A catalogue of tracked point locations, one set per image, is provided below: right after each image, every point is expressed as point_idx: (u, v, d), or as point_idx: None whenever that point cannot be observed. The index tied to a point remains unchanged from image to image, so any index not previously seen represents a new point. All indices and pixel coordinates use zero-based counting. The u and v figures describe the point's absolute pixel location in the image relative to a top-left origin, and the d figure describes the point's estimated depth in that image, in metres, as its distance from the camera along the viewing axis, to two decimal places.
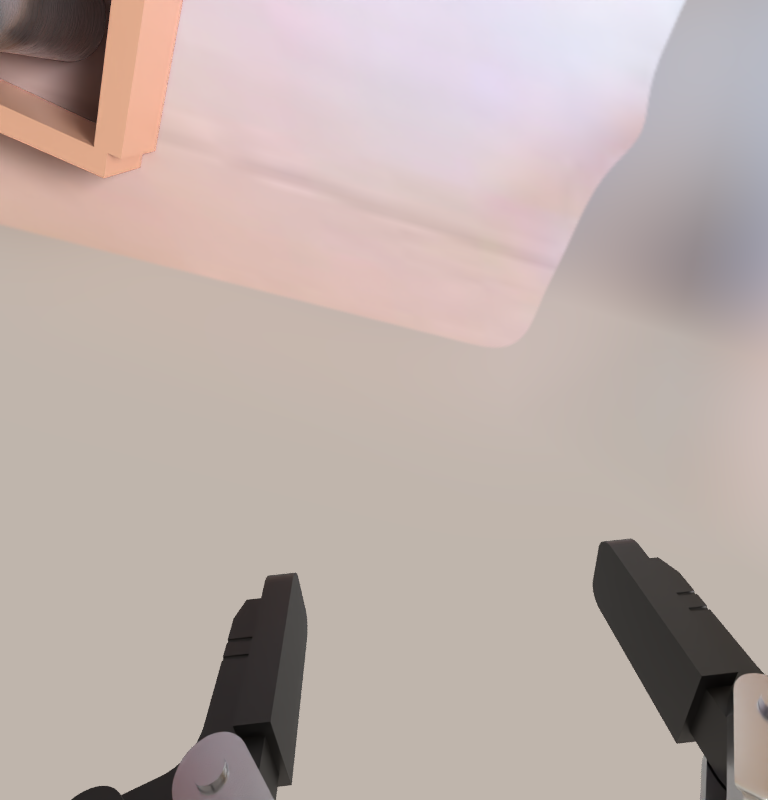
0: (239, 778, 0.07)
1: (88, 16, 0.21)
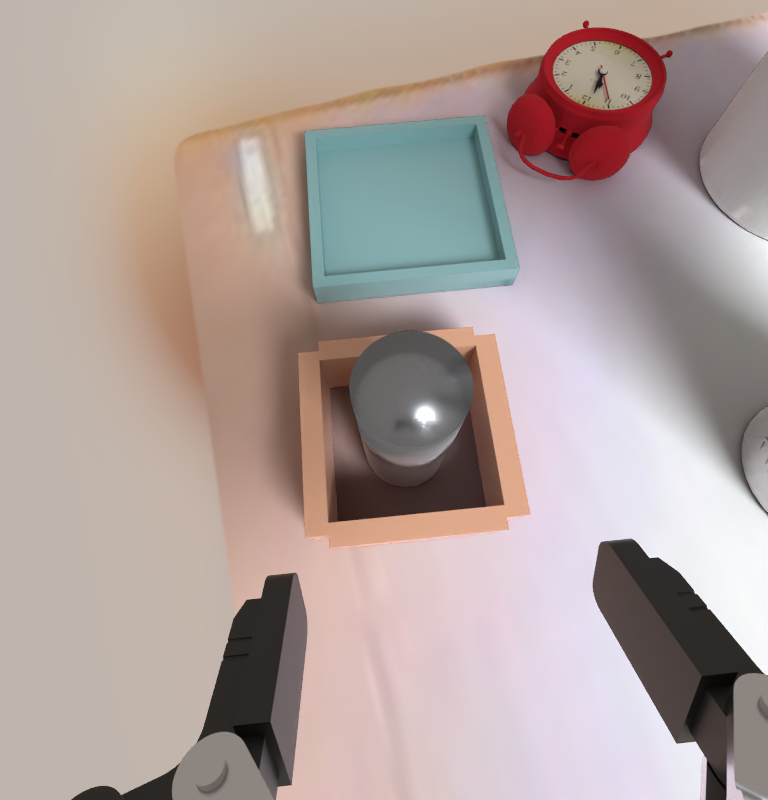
0: (239, 778, 0.07)
1: (412, 482, 0.26)
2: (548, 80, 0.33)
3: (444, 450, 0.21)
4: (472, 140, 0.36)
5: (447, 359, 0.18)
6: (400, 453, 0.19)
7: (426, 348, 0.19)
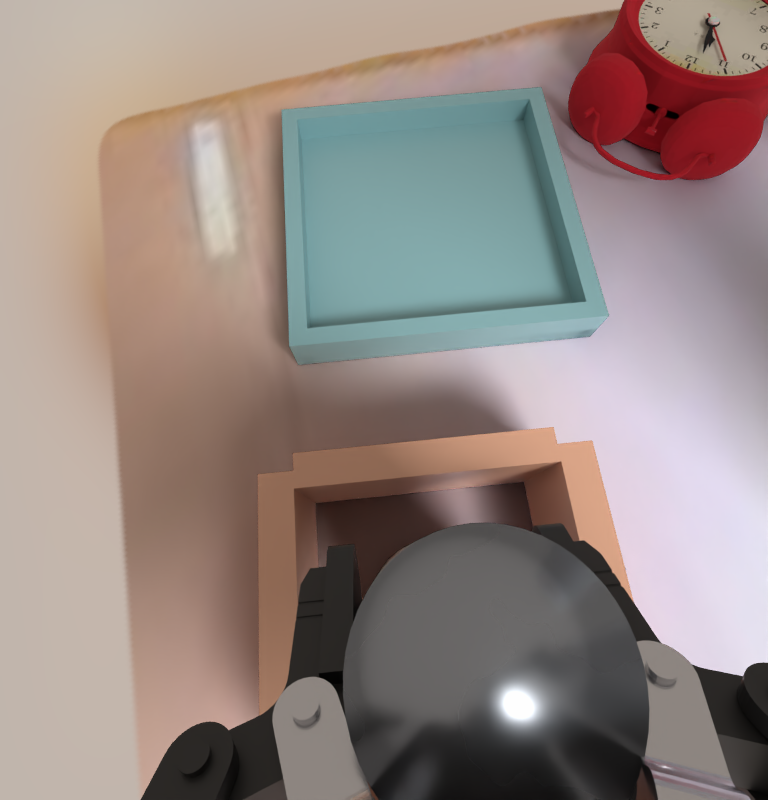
0: (334, 715, 0.08)
1: None
2: (635, 34, 0.23)
3: None
4: (521, 123, 0.25)
5: (576, 603, 0.08)
6: None
7: (524, 571, 0.08)
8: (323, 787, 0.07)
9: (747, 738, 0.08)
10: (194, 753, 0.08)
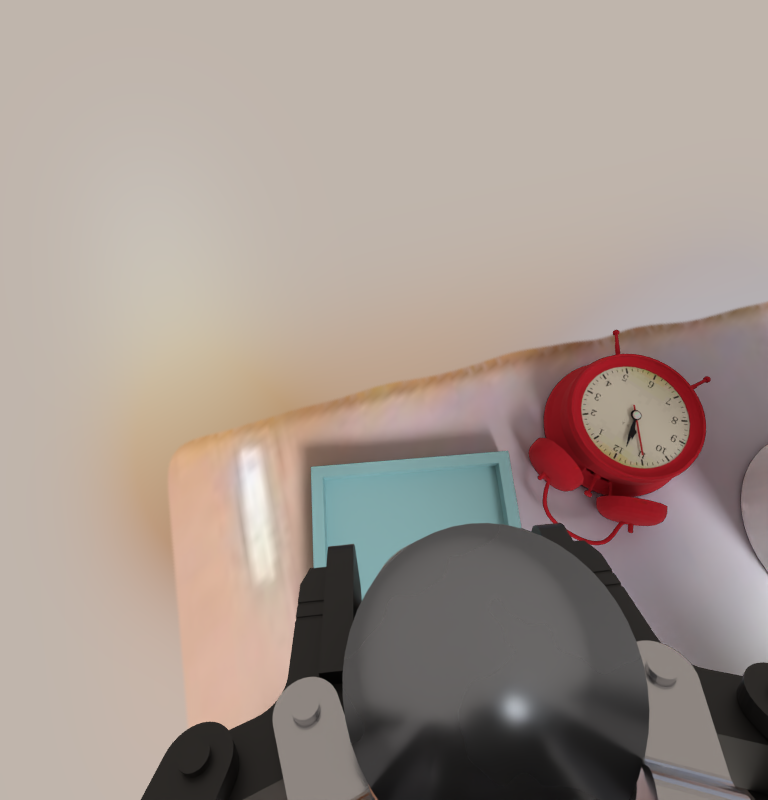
0: (334, 715, 0.08)
1: None
2: (576, 428, 0.30)
3: None
4: (493, 470, 0.33)
5: (575, 603, 0.08)
6: None
7: (523, 571, 0.08)
8: (323, 787, 0.07)
9: (747, 738, 0.08)
10: (194, 753, 0.08)
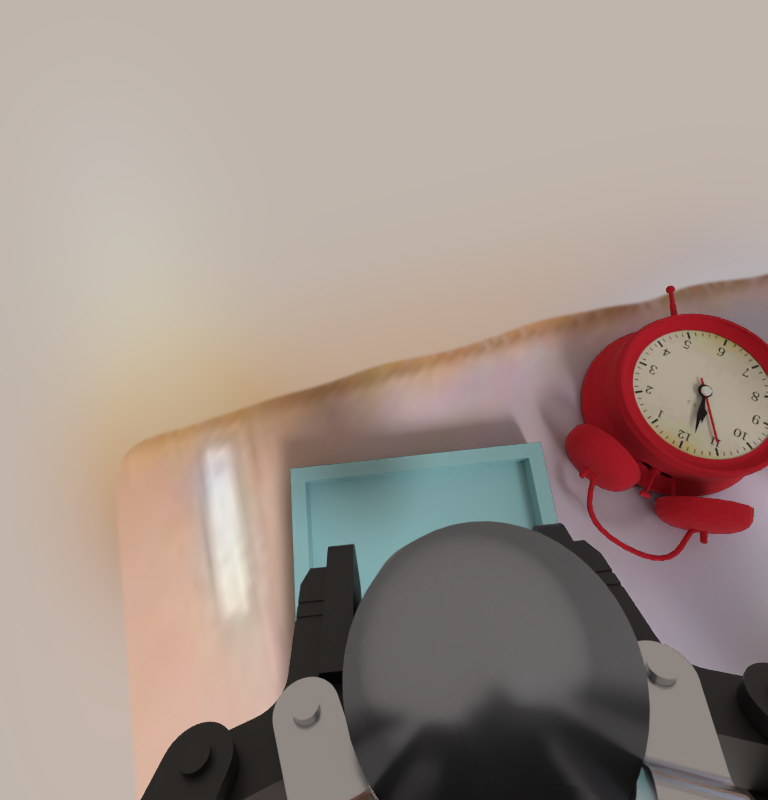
0: (334, 715, 0.08)
1: None
2: (629, 410, 0.24)
3: None
4: (522, 467, 0.26)
5: (576, 601, 0.08)
6: None
7: (524, 570, 0.08)
8: (323, 787, 0.07)
9: (747, 738, 0.08)
10: (194, 753, 0.08)
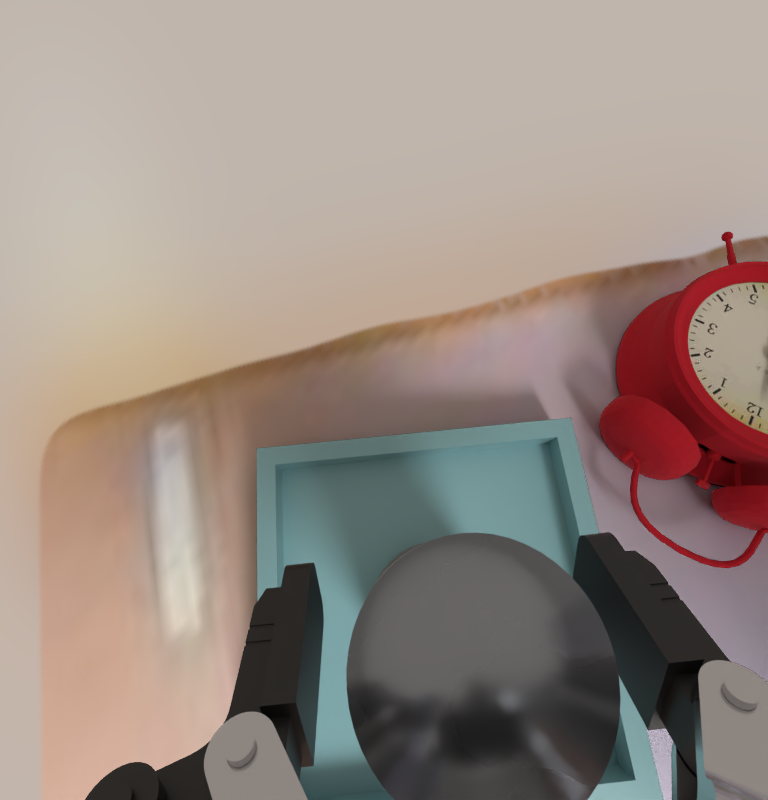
0: (268, 754, 0.07)
1: None
2: (686, 377, 0.19)
3: None
4: (546, 450, 0.21)
5: (555, 605, 0.09)
6: None
7: (509, 577, 0.09)
8: None
9: None
10: (116, 797, 0.07)
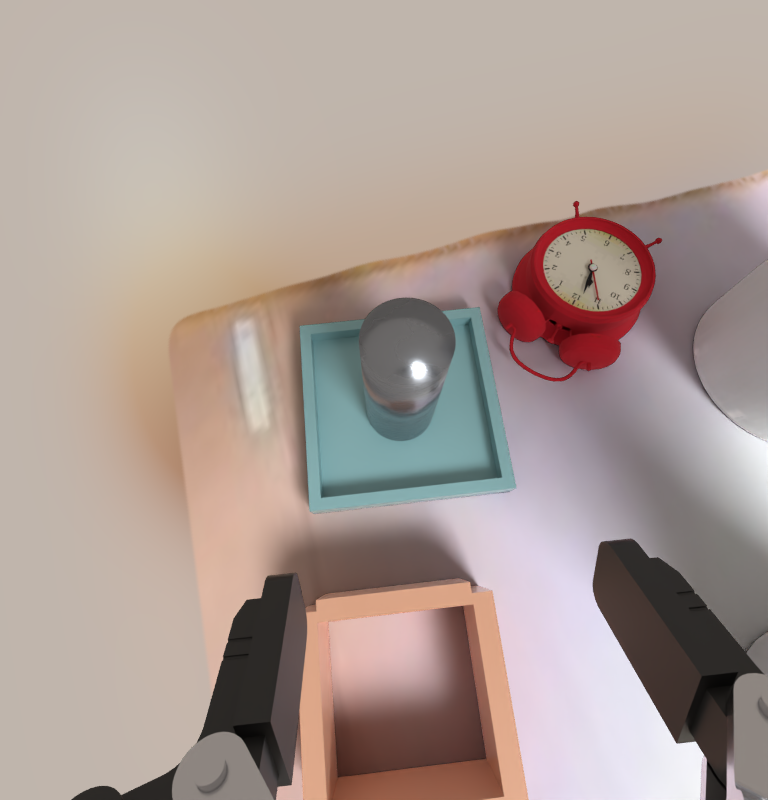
0: (239, 778, 0.07)
1: (408, 434, 0.31)
2: (538, 279, 0.33)
3: (434, 395, 0.26)
4: (467, 328, 0.36)
5: (434, 318, 0.24)
6: (399, 394, 0.24)
7: (417, 311, 0.24)
8: None
9: None
10: None
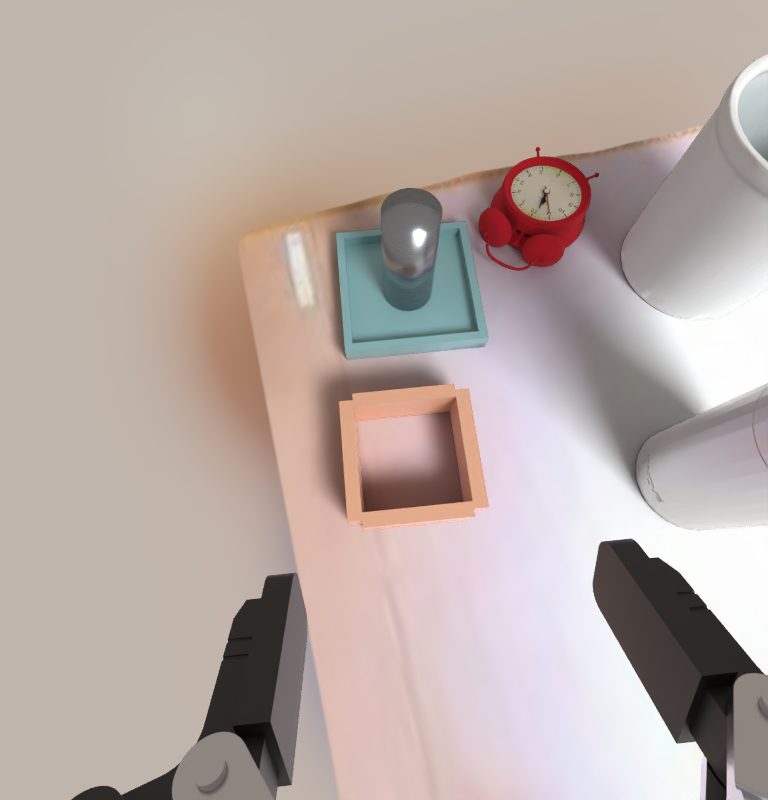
0: (239, 778, 0.07)
1: (414, 301, 0.44)
2: (507, 198, 0.47)
3: (430, 256, 0.39)
4: (457, 237, 0.49)
5: (428, 199, 0.37)
6: (408, 248, 0.37)
7: (417, 195, 0.37)
8: None
9: None
10: None
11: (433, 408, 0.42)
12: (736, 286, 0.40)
